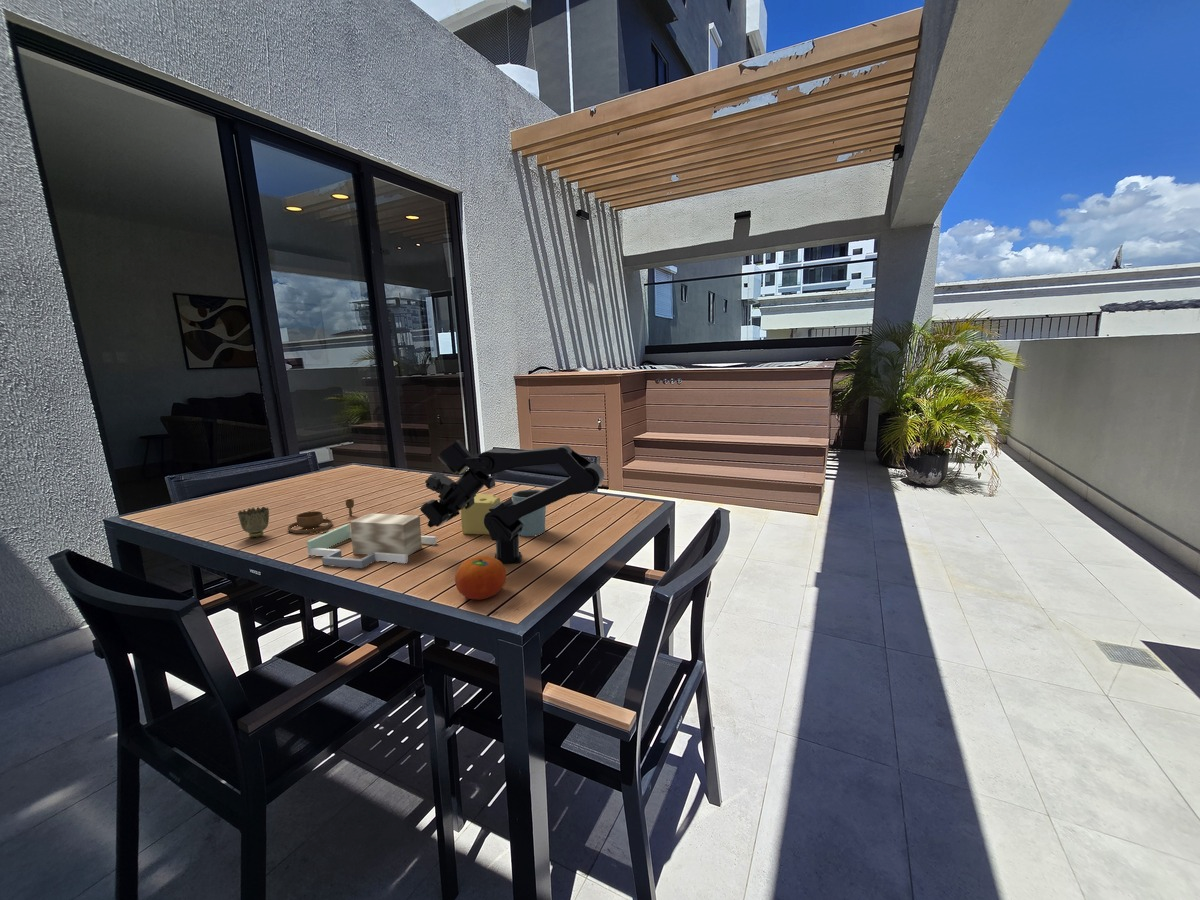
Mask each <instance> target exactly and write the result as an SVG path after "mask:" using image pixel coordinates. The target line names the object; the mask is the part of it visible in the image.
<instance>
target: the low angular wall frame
mask: <svg viewBox="0 0 1200 900" xmlns="http://www.w3.org/2000/svg"><path fill="white" fill-rule="evenodd" d="M348 538H351V539H350V540H352V535H351V523H350V524H349V523H346V524H344V525H341V526H339V527H337V528H335V529H332V530H329V531H328V532H326V533H323V534H319V535H318V536H316V537H314V538H311V539H309V540H307V541H306V544H307V545H306V546H307V556H308V555H318V556H325V557H321V563H322V564H321V565H323V564H324V565H334V566H341V567H340V568H346V567H354V568H353V569H358V568H363V567H365V566H366V565H368V564H370V563H371V562H373V561H375V560H377V561H375V562H379V561H387V562H386V563H392V562H397V563H396V564H405V563H406V564H407V563H409V556H408V554H394V553H380V552H375V553H371V554H369V555H365V556H364V557H362V558H350V557H349V558H348V557H342V550H341V549H338V548H332V547H334V546H336V545H338V544H337V543H339V544H340V542H341V543H343V542H345V541H347V540H348ZM346 539H347V540H346ZM344 540H345V541H344ZM342 541H343V542H342ZM335 544H336V545H335ZM421 544H422V545H437V536H431V535H421ZM333 545H334V546H333ZM331 546H332V547H331ZM329 547H330V548H329ZM326 548H328V549H326ZM341 557H342V558H341ZM373 563H374V562H373ZM371 564H372V563H371ZM371 564H370V565H371ZM368 566H369V565H368ZM366 567H367V566H366ZM366 567H365V568H366ZM363 569H364V568H363Z"/></svg>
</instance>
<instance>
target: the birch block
mask: <svg viewBox="0 0 1200 900" xmlns="http://www.w3.org/2000/svg"><path fill="white" fill-rule="evenodd" d="M350 531H351V535H352V539H351V545H352V555H356V554H371V553H375V552H380V553H394V554H408V557H409V556H411V555H412V554H414V553H415V552H417V551H418V550H420V549H421V548H423V547H422V546H423V544H421V536H422V529H421V516H420V515H411V514H410V515H409V514H390V513H370V512H369V513H367V514H365V515H362V516H360V517H358V518H355V519H354V520H351V521H350ZM416 550H417V551H416Z"/></svg>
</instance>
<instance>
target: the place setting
mask: <svg viewBox="0 0 1200 900" xmlns="http://www.w3.org/2000/svg"><path fill="white" fill-rule="evenodd" d="M354 505H355V501H354V498H353V499H352V498H351V499H346V500H345V506H346V509H348V514H349V515H348V516H349V517H353V516H352V515H353V508H354ZM325 518H326V519H324V517H323V512H322V511H318V510H317V511H306V512H302V513H299V514H297V515H296V522H293V523H290V524H289V525H288V526H287V530H288V532H289V531H290V532H289V533H291V532H293V533H292V534H295V533H305V534H311V533H310V532H313V533H312V534H313V535H317V534H316V533H318V532H323V534H325V532H326V533H327V532H330V530H329V528H331V527H332V526H333V520H332V519H330V518H329V519H328V517H325ZM326 523H328V524H326ZM321 524H326V525H323V526H320V525H321ZM297 525H298V527H300V528H302V529H291V528H292V527H294V526H297ZM313 528H314V529H313ZM327 528H328V529H327ZM306 529H307V530H306ZM324 529H325V530H324ZM321 530H322V531H321ZM316 531H318V532H316Z"/></svg>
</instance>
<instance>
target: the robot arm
mask: <svg viewBox="0 0 1200 900" xmlns="http://www.w3.org/2000/svg"><path fill="white" fill-rule="evenodd" d="M437 457H438V459H439V460H440V462H441V463H442V464H444V465H445V466H446V467H447V468H448V470H449V471H450V472H451V473H452V474H453V475H454V474H455V475H456V473H458V474H459V475H461V474H462V473H463V474H462V475H461V476H460V477H459V478H458V479H457V480H456V481H454V480H453V479H452V478H450V477H448V476H446V475H444V474H443V473H440V472H436V473H435V472H434V473H432V474H430V475H429V476H428V477H427V479H426V480H425V488H427V489H429V490H431V491H432V492H436V493H437V494H438V498H439V500H437V499H431V500H428V501H427V502H425V503H423V505H422V506H421V507H420V508H419V509H420V512H422V514H423V515H424V516H425V517H426V518H427V519H428V523H427V527H428V528H432V527H440V526H442V525H444V523H446V522H448V521H451V519H453V518H455V517H457V516H458V515H461V509H463V508H464V507H465V506H466V504H467V506H466V507H465V509H466V510H467V509H468V508H470V507H471V506H472V505H473V504H474V497H475V496H476V494H478V493H479V491H481V490H482V489H483V487H484V486H485V488H487V490H490V489H492V488H495V487H496V481H495V480H496V479H495V478H496V476H491V475H494V474H498V473H501V472H504V471H507V470H510V469H514V468H523V467H531V466H533V467H534V466H541V465H542V466H543V465H544V466H545V465H555V464H556V465H557V464H558V465H559V466H560V467H561V468H562V469H564V471H565V472H566V474H568V476H569V477H567V478H566V479H563V480H562V481H560V482H558V483H555V484H553V485H551V486H549V487H547V488H544V489H543V490H541V491H540V492H538V493H536V494H534V495H532V496H530V497H527V498H525V499H523V500H521V501H518V502H513V499H512V497H509V498H508V499H506V500H504V501H502V502H499V503H498V504H496V505H495V506H493V507H492V508H490V509H489V511H490V512H488V513H487V514H486V515H485V517H484V525H485V527H486V529H487V530H488V531H489V534H488V535H490V538H491V540H492V541H493V542H495V551H496V552H495V553H494V554H495V555H494V558H496V559H498V560H499V561H501V562H502V564H503V565H504V564H513V563H514V564H517V563H521V561H522V557H521V556H522V555H521V554H522V552H521V551H520V536H519V535H518V533H519V532H521V531H522V528H523V523H522V522H521V521H520V520H519V518H521V517H523V516H525V515H527V514H529V513H532V512H534V511H536V510H538V509H540V508H543V507H545V506H546V507H547V506H549V505H551V504H553V503H555V502H557V501H560V500H562V499H564V498H566V497H568V496H573V495H576V496H577V495H580V494H581V495H582V494H585V493H589V492H593V491H595V490H596V489H597V488H598V487H599V486H600V484H601V483H602V482H603V481H604V478H605V472H604V469H603V468H602V466H601V465H600V464H598V463H595V462H592V461H590V460H589V459H587V458H586V457H585V456H583V455H581V454H580V453H577V452H576V451H575V450H574V449H572V448H571V447H570V446H569V445H560V446H555V447H544V448H535V449H534V448H533V449H524V450H512V449H508V448H506V449H505V448H492V449H489V450H485V451H483V452H481V453H475V454H474V455H473V454H472V453H471V451H469V450H468V449H467V447H466V446H464V444H463V442H462V441H461V440H460V439H459V440H455V441H454V442H453V443H452V444H450V445H449V446H447V447H446V448H445V449H442V451H441V452H440V453H439V454H438V456H437Z"/></svg>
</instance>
